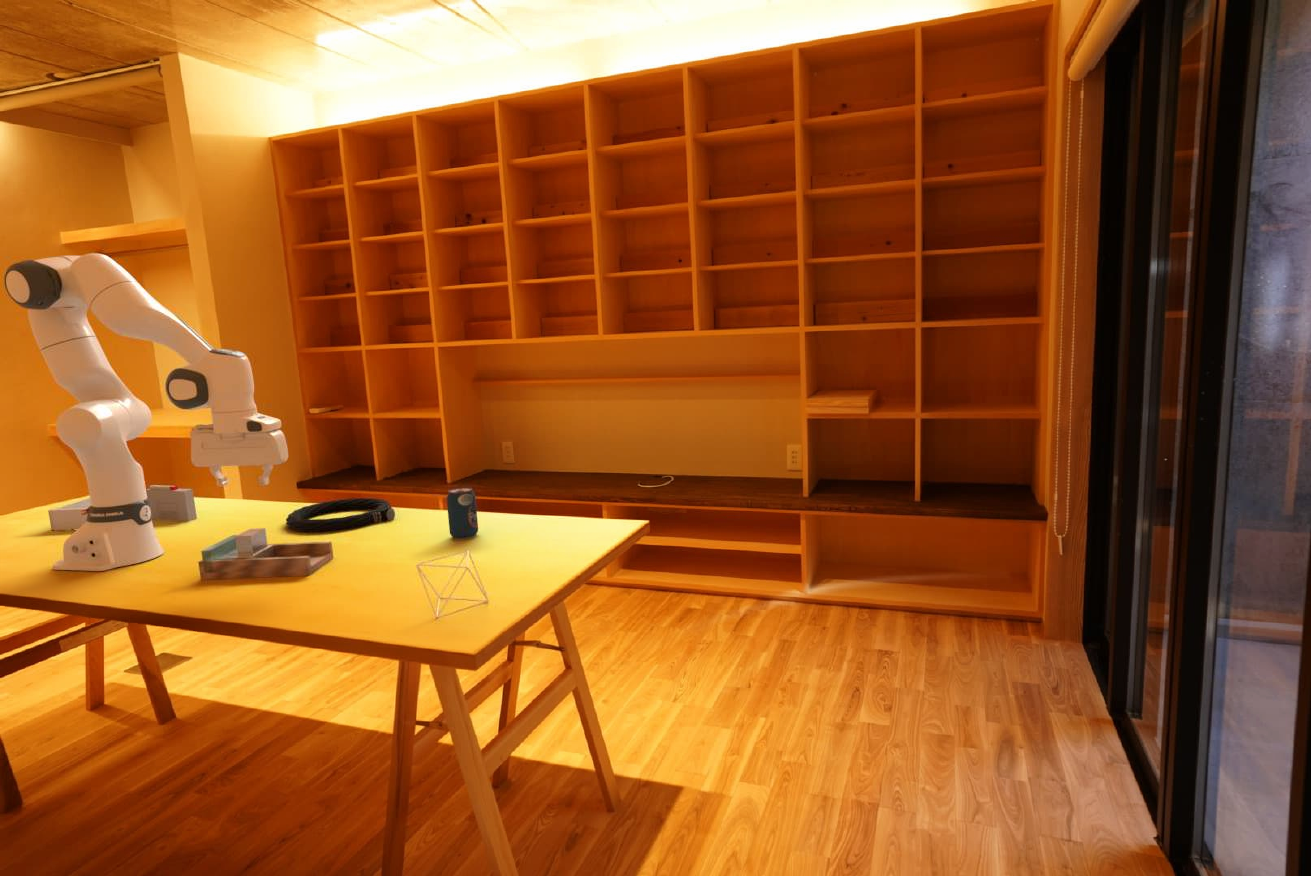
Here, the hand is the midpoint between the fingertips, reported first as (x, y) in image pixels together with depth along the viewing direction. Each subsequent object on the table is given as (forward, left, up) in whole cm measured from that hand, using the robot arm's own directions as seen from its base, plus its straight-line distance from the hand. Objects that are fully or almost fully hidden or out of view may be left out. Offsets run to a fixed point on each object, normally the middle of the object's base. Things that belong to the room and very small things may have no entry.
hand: (243, 484), depth 169 cm
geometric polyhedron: (+54, -27, -20) cm, 63 cm away
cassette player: (-52, +51, -20) cm, 75 cm away
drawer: (+4, 0, -19) cm, 20 cm away
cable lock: (+3, +42, -20) cm, 46 cm away
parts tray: (-75, +54, -19) cm, 94 cm away
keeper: (-1, 0, -18) cm, 18 cm away
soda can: (+43, +20, -20) cm, 51 cm away
